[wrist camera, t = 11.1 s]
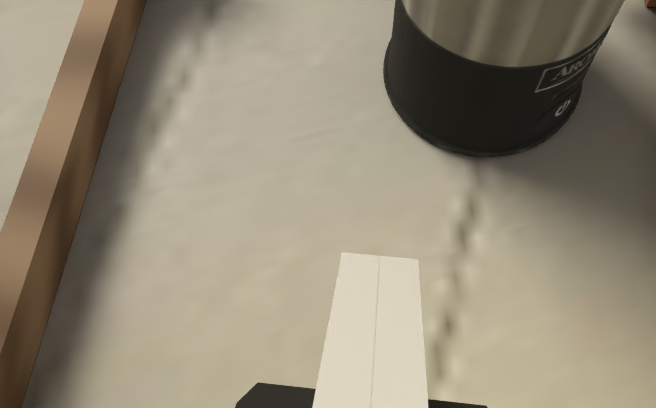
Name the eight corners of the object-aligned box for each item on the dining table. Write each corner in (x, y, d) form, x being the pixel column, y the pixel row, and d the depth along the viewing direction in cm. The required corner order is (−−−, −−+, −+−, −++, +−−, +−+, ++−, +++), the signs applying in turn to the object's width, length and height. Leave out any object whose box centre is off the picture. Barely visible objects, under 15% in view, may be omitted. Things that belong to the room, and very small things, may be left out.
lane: (814, 624, 20) (966, 671, 15) (-69, 499, 23) (-191, 504, 18) (684, -136, 35) (739, -241, 30) (156, -155, 37) (124, -253, 32)
